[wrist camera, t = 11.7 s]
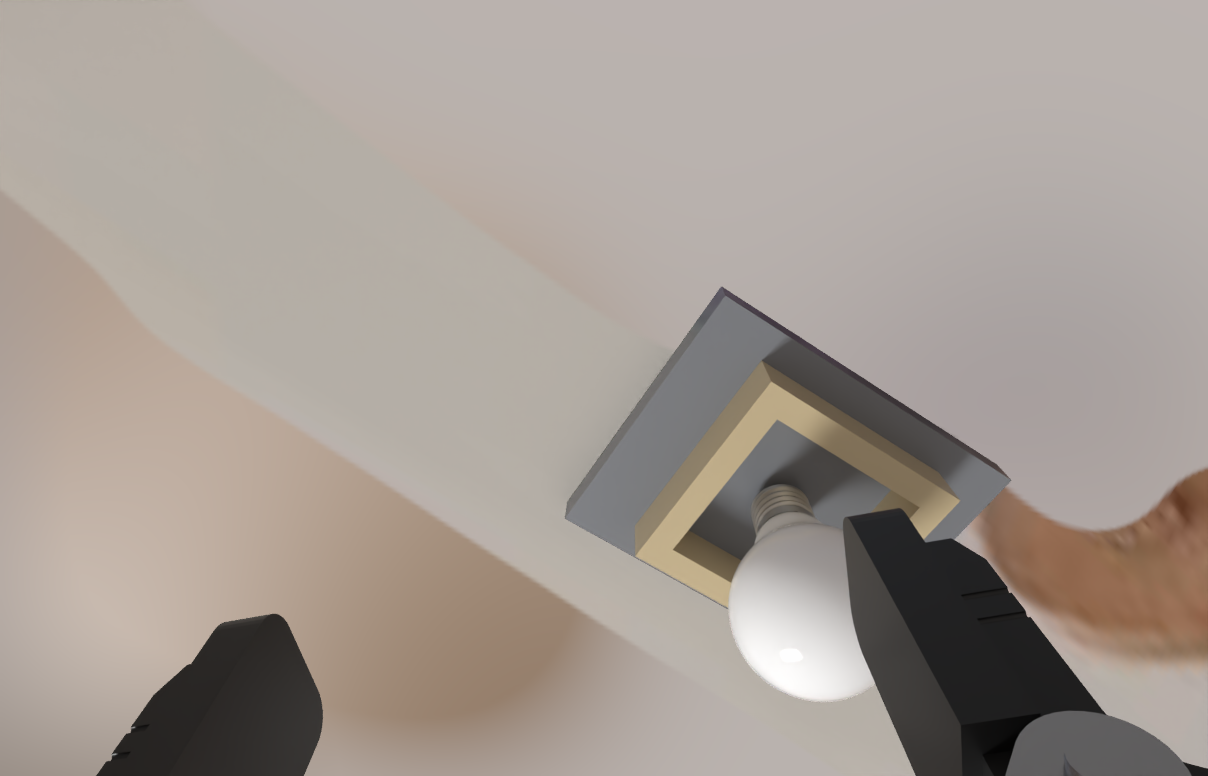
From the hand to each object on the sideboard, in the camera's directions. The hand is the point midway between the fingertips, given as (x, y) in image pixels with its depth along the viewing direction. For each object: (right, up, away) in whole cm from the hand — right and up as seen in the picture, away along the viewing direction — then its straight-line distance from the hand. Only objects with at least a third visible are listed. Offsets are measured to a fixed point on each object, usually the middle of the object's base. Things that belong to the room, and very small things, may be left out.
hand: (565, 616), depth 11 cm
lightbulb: (+9, -2, +25) cm, 27 cm away
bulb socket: (+9, -1, +26) cm, 28 cm away
